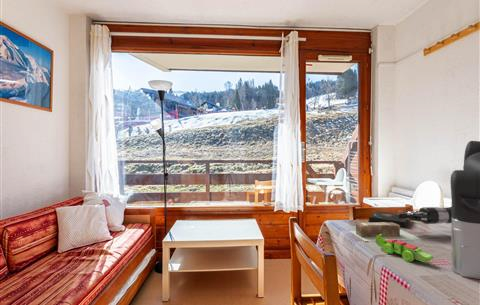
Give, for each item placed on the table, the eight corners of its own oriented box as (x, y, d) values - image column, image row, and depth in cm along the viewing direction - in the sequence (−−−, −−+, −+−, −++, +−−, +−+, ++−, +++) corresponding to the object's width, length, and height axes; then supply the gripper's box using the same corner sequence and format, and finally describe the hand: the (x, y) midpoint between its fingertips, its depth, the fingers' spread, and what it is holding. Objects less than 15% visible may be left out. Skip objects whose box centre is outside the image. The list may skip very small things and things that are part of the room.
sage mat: (401, 230, 129) (401, 229, 129) (422, 240, 115) (422, 239, 115) (349, 231, 128) (349, 230, 128) (364, 241, 114) (364, 240, 114)
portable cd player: (376, 217, 155) (376, 210, 155) (410, 222, 144) (410, 215, 144) (368, 223, 142) (368, 216, 142) (405, 230, 131) (405, 222, 131)
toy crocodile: (435, 264, 91) (436, 247, 91) (424, 268, 89) (424, 251, 88) (383, 246, 109) (383, 231, 109) (372, 248, 106) (372, 234, 106)
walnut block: (392, 221, 124) (355, 222, 123) (399, 224, 119) (361, 225, 118) (392, 232, 124) (355, 233, 123) (399, 236, 119) (361, 237, 118)
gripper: (422, 204, 129) (388, 205, 128) (445, 210, 116) (407, 211, 115) (422, 219, 129) (388, 220, 128) (445, 227, 116) (407, 228, 115)
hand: (397, 216), depth 122 cm, fingers closed
